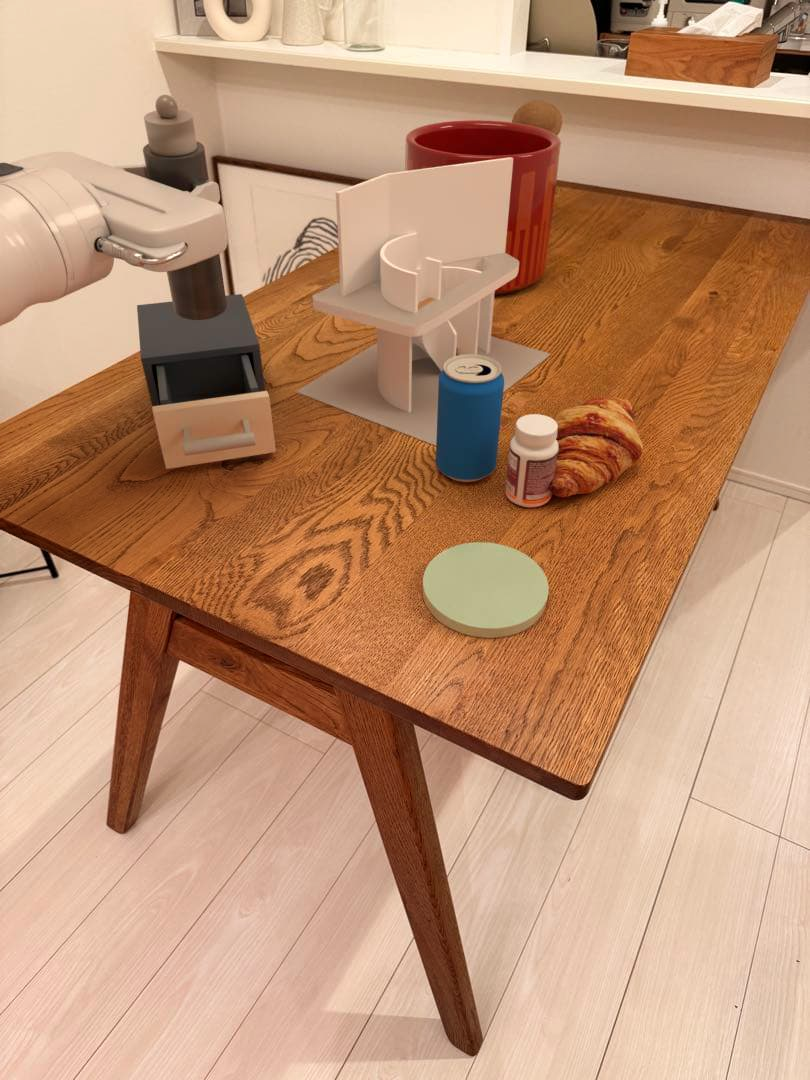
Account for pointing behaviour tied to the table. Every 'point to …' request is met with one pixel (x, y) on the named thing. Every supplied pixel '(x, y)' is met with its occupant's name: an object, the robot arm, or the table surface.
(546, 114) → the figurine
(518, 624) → the disc
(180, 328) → the cabinet
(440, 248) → the architectural model
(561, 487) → the croissant
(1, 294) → the robot arm
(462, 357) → the beverage can
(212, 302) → the pepper mill
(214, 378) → the drawer
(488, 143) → the planter
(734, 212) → the table surface
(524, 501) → the pill bottle
